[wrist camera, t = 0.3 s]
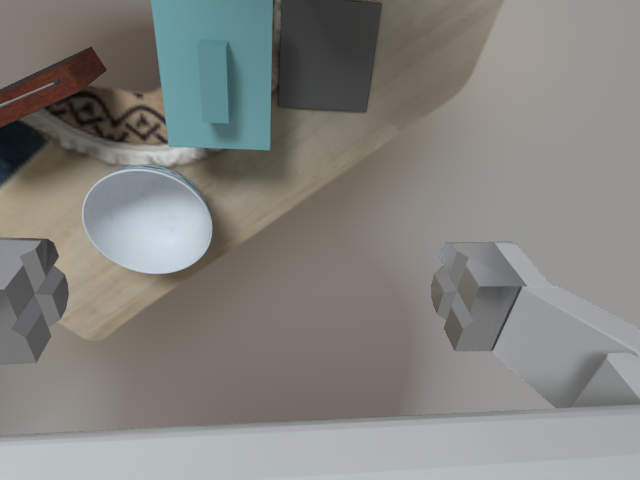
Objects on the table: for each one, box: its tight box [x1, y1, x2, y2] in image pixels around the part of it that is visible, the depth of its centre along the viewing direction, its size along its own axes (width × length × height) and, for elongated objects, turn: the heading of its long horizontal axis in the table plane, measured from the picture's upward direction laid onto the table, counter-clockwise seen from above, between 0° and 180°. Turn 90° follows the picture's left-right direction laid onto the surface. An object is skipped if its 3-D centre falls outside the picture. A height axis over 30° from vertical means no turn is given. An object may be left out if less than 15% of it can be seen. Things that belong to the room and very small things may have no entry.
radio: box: [0, 47, 106, 127], centre depth 43 cm, size 19×3×15 cm, turn 111°
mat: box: [279, 0, 382, 111], centre depth 50 cm, size 12×11×1 cm
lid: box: [151, 0, 273, 150], centre depth 42 cm, size 15×11×6 cm
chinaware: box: [82, 164, 213, 274], centre depth 55 cm, size 15×15×8 cm
